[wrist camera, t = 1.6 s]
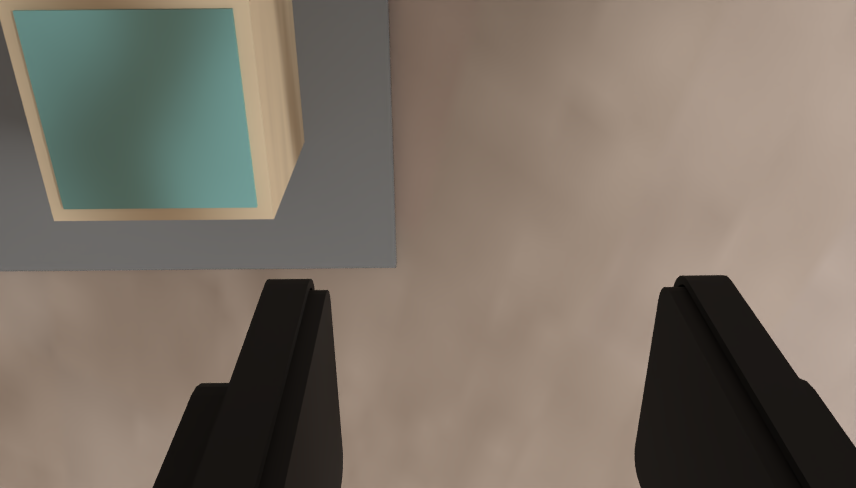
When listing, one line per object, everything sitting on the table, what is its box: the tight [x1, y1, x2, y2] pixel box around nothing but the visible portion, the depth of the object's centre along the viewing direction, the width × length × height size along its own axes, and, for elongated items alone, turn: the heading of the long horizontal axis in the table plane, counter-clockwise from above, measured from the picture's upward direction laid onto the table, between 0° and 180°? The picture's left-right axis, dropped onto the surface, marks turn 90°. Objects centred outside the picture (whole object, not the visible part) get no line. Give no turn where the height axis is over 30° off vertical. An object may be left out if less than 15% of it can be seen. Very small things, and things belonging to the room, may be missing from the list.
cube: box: [0, 0, 305, 221], centre depth 22 cm, size 6×6×6 cm
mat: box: [0, 0, 397, 271], centre depth 25 cm, size 24×16×1 cm, turn 90°
